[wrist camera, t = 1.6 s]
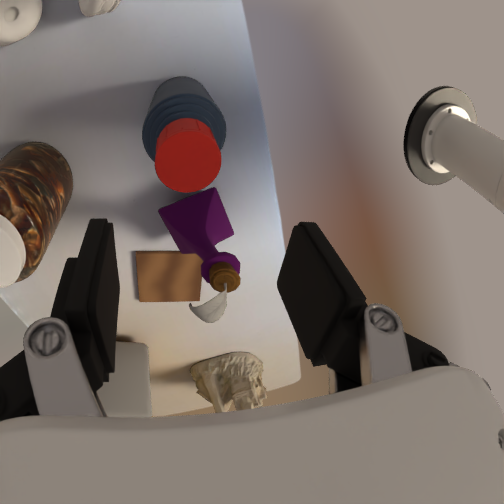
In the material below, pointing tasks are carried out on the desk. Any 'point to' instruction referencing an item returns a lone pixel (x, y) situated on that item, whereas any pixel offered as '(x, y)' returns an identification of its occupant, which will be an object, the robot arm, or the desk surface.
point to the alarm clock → (128, 383)
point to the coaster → (168, 276)
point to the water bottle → (181, 111)
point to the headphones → (38, 16)
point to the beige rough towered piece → (230, 381)
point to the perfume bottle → (205, 245)
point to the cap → (187, 155)
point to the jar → (30, 206)
